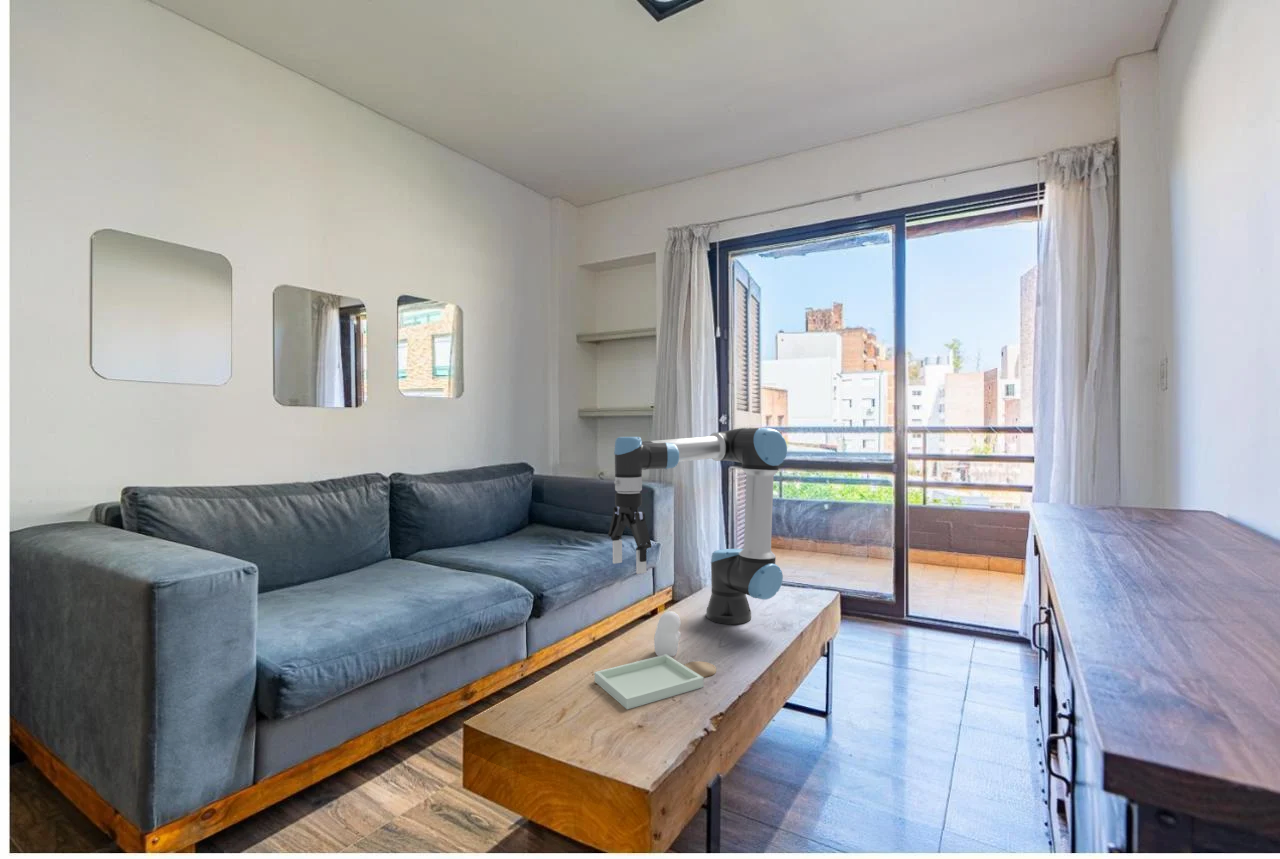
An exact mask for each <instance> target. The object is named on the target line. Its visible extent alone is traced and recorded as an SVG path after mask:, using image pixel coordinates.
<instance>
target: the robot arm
mask: <svg viewBox="0 0 1280 859" xmlns="http://www.w3.org/2000/svg"><path fill="white" fill-rule="evenodd" d="M614 442H615V443H614V450H613V451H614V453H613V455H614V481H613V483H614V490H615V491H616V493H615V494H614V505H615V506H614V507H613V508H612V509H613V511H612V517H611V521H610V526H609V528H608V529H609V530H608V533H607V536H608V538H610V539H611V540H612V564H613V565H615V564H621V563H623V540H622V539H623V537H622V536H623V535H624V534H623V533H624V531H625V529H626V527H628V529H630V530H631V534H632V536H633V538H634V541H635V544H636V546H637V547H636V548H635V562H636V563H635V564H636V567H635V568H636V570H635V572H636V575H641V574H647V561H648V560H647V559H648V558H647V557H648V556H647V551H648V549H650V548H652V542H651V537H650V533H649V530H648V527H647V521H646V513H645V511H639V507H641V506H642V505H643V493H642V492H641V491H642V490H643V479H642V478H643V472H642V471H646V470H667V469H673V468H676V466H677V465H678V464H679V463H681V462H682V463H683V462H689V461H691V462H692V461H701V460H709V459H710V460H713V461H715V462H722V461H728V462H734V463H735V462H736V463H741V470H742V471H743V473H745V475H746V477H745V483H746V484H745V501H744V502H745V504H744V506H745V507H744V534H743V535H744V536H743V548H723V549H716V550H715V551H713V552H712V553H711V559H710V560H711V561H710V565H711V566H710V570H711V571H710V573H711V574H710V575H711V578H710V580H711V594H710V597H709V601H708V605H707V608H706V611H705V612H706V619H708V620H710V621H711V622H713V623H718V624H724V625H740V624H741V625H742V624H745V623H748V622H750V621H751V619H752V610H751V608H750V604H749V601H748V598H747V595H748V596H749V597H751V598H754V599H758V600H763V601H765V600H770V599H773V597H775V595H776V594H777V593H778V592H779V591H780V589H781V587H782V584H783V580H784V578H783V577H784V575H783V571H782V569H781V567H779V565H777V564H776V561H777V560H776V554H775V553H774V552H773V551H772V529H773V527H772V526H773V503H774V502H773V500H774V499H773V498H774V475H776V474H777V473H778V472H779V470H780V469H779V465H781V464H783V463H784V462H785V459H787V455H788V445H787V442H786V439H785V437H784V436H783V435H782V433H781V432H779V430H778V429H777V430H776V429H773V428H768V427H751V428H748V427H740V428H735V429H734V428H733V429H730V430H725V431H719V432H718V431H717V432H712V433H711V434H710V435H707V436H695V437H694V436H693V437H683V438H681V437H680V438H672V439H671V438H670V439H660V440H659V439H657V440H648V441H647V440H646V441H642V438H641V436H618V437H617V438H616V439H615V441H614Z"/></svg>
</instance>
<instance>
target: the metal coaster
mask: <svg viewBox="0 0 1280 859" xmlns="http://www.w3.org/2000/svg"><path fill="white" fill-rule="evenodd" d="M683 665H684V666H686V667H688V668H689V669H691V670H692V671H694V672H696V673H697V674H699V675H701V676H702V677H704V678H709V677H712V676H714V675H715V674H717V667H716V666H715V665H714V664H713V663H711V662H706V661H698V660H697V661H696V660H695V661H690V662H687V663H685V664H683Z"/></svg>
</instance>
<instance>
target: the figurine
mask: <svg viewBox="0 0 1280 859" xmlns="http://www.w3.org/2000/svg"><path fill="white" fill-rule="evenodd" d="M680 628H681V618H680V615H679V614H678V613H677V612H675V611H671V610H670V611H665V612H663V613H662V615H661V616H660V618H659V620H658V622H657V627H656V629H655V633H654V638H653V641H654V642H653V643H654V644H653V646H654V647H653V648H654V652H655V654H656V656H661V655H665V654H667V655H668V656H670V657H672V658H673V657H674V656H676V655H677V653H678V650H679V641H680V639H681V637H682V636H681V635H682V633H681V632H680Z"/></svg>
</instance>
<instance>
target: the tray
mask: <svg viewBox="0 0 1280 859" xmlns="http://www.w3.org/2000/svg"><path fill="white" fill-rule="evenodd" d="M684 665H685V664H682V663H681V662H680V661H678V660H676V659H675V658H673V656H672V657H670V656H668V655H667V654H665V655H661V656H658V655H656V656H654V657H649V658H645V659H641V660H637V661H633V662H629V663H625V664H621V665H617V666H613V667H609V668H605V669H601V670H598V671H594V683H596V684H597V686H599V687H601V688H602V689H603V690H604V691H605V692H606V693H607V694H609V696H611V697H612V698H613V699H615V700H616V701H617V702H618V704H620V705H621V706H622V707H623V708H625V709H626V710H630V709H634V708H637V707H640V706H643V705H647V704H651V703H654V702H657V701H661V700H664V699H668V698H672V697H675V696H678V695H681V694H684V693H688V692H692V691H695V690H698V689H701V688H704V687H705V686H704V684H705V683H704V679H705V677H702V676H701V675H699V674H697V673H696V672H694V671H692V670H691V669H689V668H688V667H686V666H684Z"/></svg>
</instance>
